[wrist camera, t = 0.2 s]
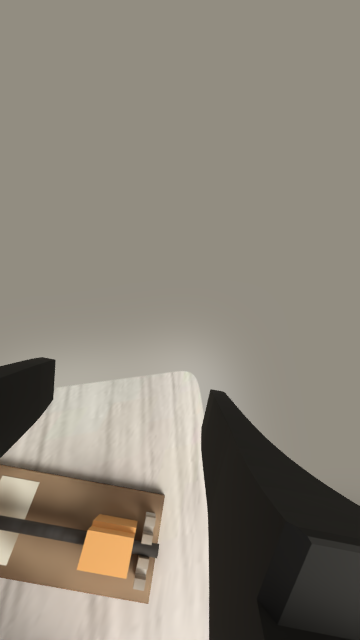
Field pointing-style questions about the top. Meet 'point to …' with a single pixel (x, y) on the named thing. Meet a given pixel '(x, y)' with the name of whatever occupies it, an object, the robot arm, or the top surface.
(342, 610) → the robot arm
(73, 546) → the cord board
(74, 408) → the top surface
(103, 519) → the orange notched block
